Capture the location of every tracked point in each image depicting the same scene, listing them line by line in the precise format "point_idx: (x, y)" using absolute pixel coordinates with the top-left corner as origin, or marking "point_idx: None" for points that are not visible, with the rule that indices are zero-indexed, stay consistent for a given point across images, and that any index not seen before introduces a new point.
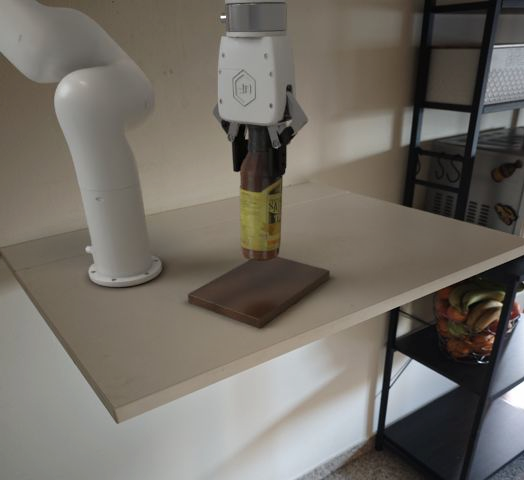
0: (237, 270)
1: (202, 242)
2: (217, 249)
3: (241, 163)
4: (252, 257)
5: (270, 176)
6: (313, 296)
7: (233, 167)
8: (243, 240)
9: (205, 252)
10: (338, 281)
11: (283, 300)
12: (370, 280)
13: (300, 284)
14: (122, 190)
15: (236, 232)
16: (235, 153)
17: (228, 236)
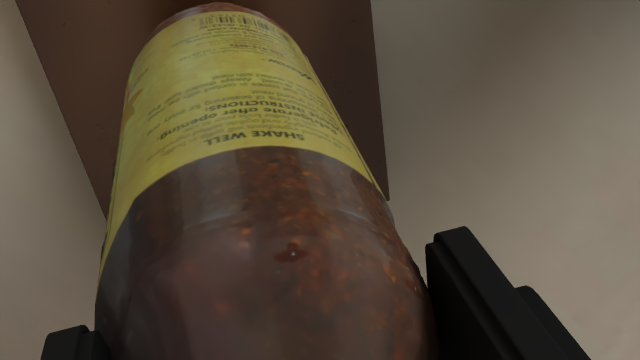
0: (353, 46)
1: (631, 128)
2: (556, 131)
3: (449, 316)
4: (182, 11)
5: (66, 331)
6: (54, 136)
7: (473, 240)
8: (241, 22)
9: (575, 88)
10: (92, 257)
11: (27, 2)
12: (35, 324)
13: (101, 135)
14: None
15: (584, 247)
16: (505, 336)
17: (587, 213)
